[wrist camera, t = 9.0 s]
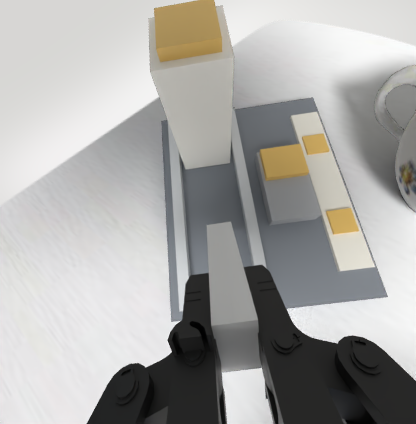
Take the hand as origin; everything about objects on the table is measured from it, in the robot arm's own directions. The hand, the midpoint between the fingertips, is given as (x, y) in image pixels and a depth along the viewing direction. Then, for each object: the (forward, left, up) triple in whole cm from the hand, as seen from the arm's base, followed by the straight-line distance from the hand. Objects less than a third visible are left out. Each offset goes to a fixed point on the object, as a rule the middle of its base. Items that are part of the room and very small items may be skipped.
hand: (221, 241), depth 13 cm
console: (+3, +4, -4) cm, 7 cm away
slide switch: (0, +9, -3) cm, 10 cm away
